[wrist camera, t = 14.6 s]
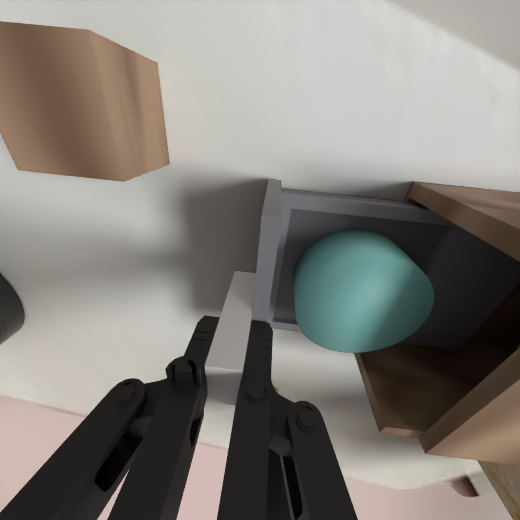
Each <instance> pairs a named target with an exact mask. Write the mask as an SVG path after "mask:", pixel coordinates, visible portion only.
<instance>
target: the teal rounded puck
mask: <svg viewBox="0 0 520 520" xmlns="http://www.w3.org/2000/svg"><path fill="white" fill-rule="evenodd" d="M293 289H294V301H295V313H296V320H297V323H298V326H299V328H300V329H301V331H302V332H303V334H304V335H305V336H306V337H307V338H309V339H310V340H311V341H312V342H314V343H316V344H317V345H319V346H322V347H324V348H327V349H330V350H334V351H339V352H348V353H360V352H369V351H374V350H379V349H382V348H386V347H388V346H391V345H394V344H396V343H398V342H400V341H402V340H404V339H405V338H407V337H408V336H410V335H411V334H413V333H414V332H415V331H416V330H417V329H418V328H419V327H420V326H421V325H422V324H423V323H424V322H425V320H426V319H427V318H428V316H429V314H430V312H431V310H432V307H433V302H434V290H433V287H432V284H431V282H430V280H429V278H428V277H427V276H426V275H425V273H424V272H423V271H422V270H421V269H420V268H419V267H418V266H417V265H416V264H415V263H414V262H413V261H412V260H411V259H410V258H409V256H408V255H407V254H406V253H405V252H404V251H403V250H402V249H401V248H400V247H399V246H398V245H397V244H396V243H395V242H394V241H393V240H392V239H390V238H389V237H387V236H386V235H384V234H381V233H379V232H376V231H372V230H367V229H346V230H341V231H337V232H334V233H331V234H328V235H326V236H324V237H322V238H320V239H319V240H317V241H315V242H314V243H313V244H312V245H310V246H309V247H308V248H307V249H306V250H305V251H304V252H303V253H302V255H301V256H300V258H299V259H298V261H297V263H296V265H295V268H294V272H293Z"/></svg>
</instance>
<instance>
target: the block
mask: <svg viewBox="0 0 520 520" xmlns="http://www.w3.org/2000/svg"><path fill="white" fill-rule="evenodd" d="M0 133H1V135H2V137H3V139H4V142H5V144H6V146H7V148H8V150H9V152H10V154H11V157H12V159H13V161H14V163H15V165H16V167H17V169H18V170H21V171H31V172H40V173H49V174H58V175H68V176H77V177H86V178H95V179H105V180H114V181H123V182H124V181H127V180H129V179H132V178H134V177H137V176H140V175H142V174H145V173H147V172H150V171H153V170H155V169H158V168H160V167H163V166H166V165H168V164H169V155H168V147H167V139H166V131H165V123H164V114H163V106H162V98H161V90H160V81H159V73H158V65H157V62H154V61H152V60H150V59H148V58H146V57H144V56H142V55H140V54H138V53H136V52H134V51H132V50H129V49H127V48H125V47H123V46H121V45H119V44H117V43H115V42H113V41H111V40H109V39H106V38H104V37H102V36H100V35H98V34H96V33H94V32H92V31H90V30H85V29H74V28H64V27H53V26H43V25H32V24H22V23H11V22H1V21H0Z"/></svg>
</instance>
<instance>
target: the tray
mask: <svg viewBox="0 0 520 520" xmlns="http://www.w3.org/2000/svg"><path fill="white" fill-rule="evenodd" d="M346 229H367V230H372V231H376V232H379V233H381V234H384V235H386V236H387V237H389V238H390V239H392V240H393V241H394V242H395V243H396V244H397V245H398V246H399V247H400V248H401V249H402V250H403V251H404V252H405V253H406V254H407V255H408V256H409V258H410V259H411V260H412V261H413V262H414V263H415V264H416V265H417V266H418V267H419V268H420V269H421V270H422V271H423V272H424V273H425V275H426V276H427V277H428V278H429V280H430V282H431V284H432V287H433V290H434V302H433V307H432V310H431V312H430V314H429V316H428V318H427V319H426V320H425V322H424V323H423V324H422V325H421V326H420V327H419V328H418V329H417V330H416V331H415V332H414V333H413V334H411V335H410V336H408V337H407V338H405V339H404V340H402V341H400V342H398V343H401V344H410V345H418V346H427V347H435V348H444V349H452V350H460V349H461V347H462V346H463V345H464V344H465V343H466V342H467V341H468V340H469V339H470V337H471V336H472V335H473V334H474V333H475V332H476V331H477V330H478V329H479V327H480V326H481V325H482V324H483V323H484V322H485V321H486V320H487V318H488V317H489V316H490V315H491V314H492V313H493V312H494V311H495V310H496V308H497V307H498V306H499V305H500V304H501V303H502V302H503V301H504V300H505V298H506V297H507V296H508V295H509V294H510V293H511V292H512V291H513V289H514V288H515V287H516V286H517V285H518V284H519V283H520V262H519V261H518V260H516V259H514V258H513V257H511V256H509V255H507V254H506V253H504V252H502V251H501V250H499V249H497V248H495V247H494V246H492V245H490V244H489V243H487V242H485V241H483V240H482V239H480V238H478V237H477V236H475V235H473V234H472V233H470V232H468V231H466V230H465V229H463V228H461V227H460V226H458V225H456V224H454V223H453V222H451V221H449V220H448V219H446V218H444V217H442V216H441V215H439V214H437V213H436V212H434V211H432V210H430V209H429V208H427V207H425V206H424V205H422V204H420V203H410V202H401V201H392V200H383V199H373V198H364V197H355V196H345V195H336V194H327V193H317V192H308V191H299V190H289V189H281V180H272V179H268V185H267V190H266V195H265V200H264V205H263V210H262V215H261V225H260V236H259V247H258V257H257V268H256V279H255V289H254V300H253V311H252V321H257V322H265V323H270V326H271V328H275V329H284V330H292V331H300V332H302V331H301V329H300V328H299V326H298V323H297V320H296V313H295V301H294V289H293V272H294V268H295V265H296V263H297V261H298V259H299V258H300V256H301V255H302V253H303V252H304V251H305V250H306V249H307V248H308V247H309V246H310V245H312V244H313V243H314V242H315V241H317V240H319V239H320V238H322V237H324V236H326V235H328V234H331V233H334V232H337V231H341V230H346Z"/></svg>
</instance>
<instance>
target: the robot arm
mask: <svg viewBox="0 0 520 520" xmlns="http://www.w3.org/2000/svg"><path fill="white" fill-rule="evenodd" d="M255 279H256V273H250V272H242V271H235V272H234V275H233V278H232V282H231V285H230V288H229V291H228V294H227V297H226V300H225V304H224V307H223V310H222V313H221V316H220V317H214V316H206V315H205V316H204V317H203V318H202V319H201V320H200V321H199V322H198V323H197V326H196V328H195V330H194V333H193V335H192V338H191V340H190V342H189V345H188V347H187V349H186V352H185V354H184V356H181V357H179V358H176V359H174V360H173V361H172V362H170V363H169V365H168V366H167V368H166V369H165V370H166V374H167V378H166V379H164V380H160V381H156V382H151V383H146V384H144V383H143V382H142V381H140V380H139V379H134V378H132V379H126V380H124V381H122V382H120V383H118V384H117V385H116V386H115V387H113V388H112V389H111V390H110V391H109V393H108V394H107V395H106V396H105V397H104V398H103V399H102V400H101V401H100V403H99V404H98V405H97V406H96V407H95V408H94V409H93V410H92V411H91V413H90V414H89V415H88V416H87V417H86V418H85V419H84V420H83V421H82V423H81V424H80V425H79V426H78V427H77V428H76V429H75V430H74V432H73V433H72V434H71V435H70V436H69V437H68V438H67V439H66V440H65V441H64V443H63V444H62V445H61V446H60V447H59V448H58V449H57V450H56V451H55V453H54V454H53V455H52V456H51V457H50V458H49V459H48V460H47V462H46V463H45V464H44V465H43V466H42V467H41V468H40V469H39V470H38V471H37V473H36V474H35V475H34V476H33V477H32V478H31V479H30V480H29V481H28V482H27V484H26V485H25V486H24V487H23V488H22V489H21V490H20V491H19V492H18V494H17V495H16V496H15V497H14V498H13V499H12V500H11V501H10V502H9V504H8V505H7V506H6V507H5V508H4V509H3V510H2V511H1V512H0V520H97V519H98V517H99V516H100V514H101V513H102V511H103V509H104V508H105V506H106V505H107V503H108V502H109V500H110V498H111V497H112V495H113V494H114V492H115V491H116V489H117V487H118V486H119V484H120V483H121V481H122V479H123V478H124V476H125V475H126V473H127V472H128V470H129V472H128V474H127V476H126V478H125V481H124V483H123V485H122V487H121V490H120V492H119V494H118V497H117V499H116V501H115V503H114V506H113V508H112V510H111V513H110V515H109V517H108V519H107V520H176V518H177V515H178V511H179V507H180V503H181V500H182V496H183V492H184V488H185V484H186V481H187V477H188V473H189V469H190V466H191V462H192V458H193V454H194V451H195V447H196V443H197V439H198V436H199V432H200V428H201V424H202V421H203V417H204V406H205V402H206V398H207V401H209V402H216V403H224V404H231V405H236V407H235V414H234V420H233V426H232V432H231V438H230V444H229V450H228V456H227V462H226V468H225V474H224V480H223V486H222V492H221V498H220V504H219V510H218V516H217V520H266V508H267V485H268V461H269V448H270V449H271V450H273V451H275V452H276V453H278V454H280V460H281V466H282V471H283V477H284V482H285V488H286V494H287V499H288V505H289V511H290V516H291V520H358V519H357V516H356V513H355V511H354V507H353V504H352V502H351V499H350V496H349V493H348V490H347V487H346V484H345V481H344V478H343V475H342V472H341V469H340V466H339V464H338V461H337V458H336V455H335V452H334V449H333V446H332V443H331V440H330V437H329V434H328V431H327V429H326V426H325V423H324V420H323V417H322V415H321V413H320V411H319V410H318V409H317V408H316V407H315V406H314V405H313V404H311V403H309V402H307V401H299V402H296V403H294V402H292V401H290V400H288V399H286V398H284V397H283V396H281V395H280V394H278V392H277V391H276V390H275V389H274V387H273V385H272V382H271V362H272V340H273V330H272V328H271V326H270V323H265V322H257V321H252V311H253V300H254V289H255ZM23 323H24V310H23V307H22V304H21V302H20V300H19V298H18V297H17V295H16V294H15V292H14V291H13V289H12V288H11V287H10V285H9V284H8V283H7V282H6V281H5V280H4V279H3V278H2V277H1V275H0V345H1V344H2V343H3V342H4V341H6V340H7V339H8V338H10V337H11V336H12V335H13V334H15V333H16V332H17V331H18V330H19V329H20V328H21V327H22V325H23Z"/></svg>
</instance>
